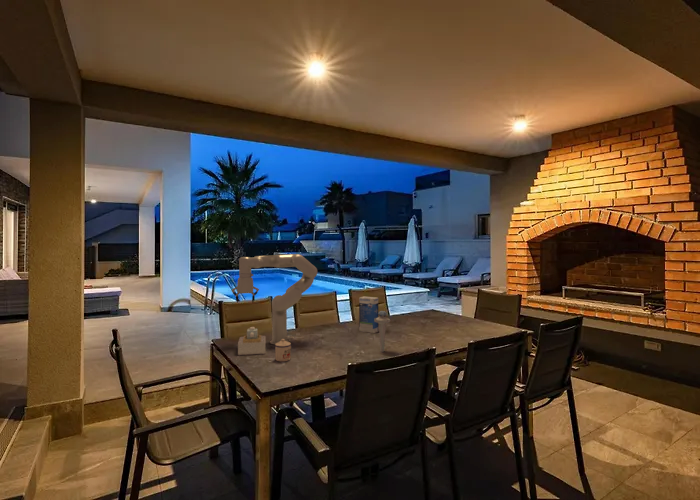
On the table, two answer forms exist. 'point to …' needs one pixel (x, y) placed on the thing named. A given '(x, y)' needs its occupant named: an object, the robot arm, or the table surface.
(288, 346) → the teacup with lid
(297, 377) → the table surface
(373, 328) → the string lights box
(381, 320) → the novelty light stick
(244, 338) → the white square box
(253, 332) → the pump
